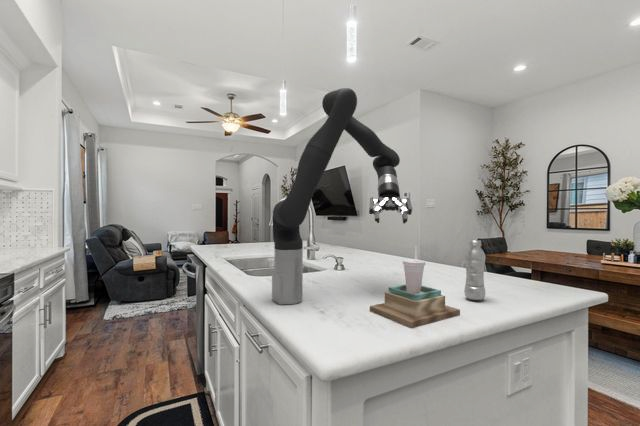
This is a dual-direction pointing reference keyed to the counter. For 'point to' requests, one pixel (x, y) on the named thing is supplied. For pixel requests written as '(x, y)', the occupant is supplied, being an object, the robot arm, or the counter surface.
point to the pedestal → (414, 306)
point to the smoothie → (413, 274)
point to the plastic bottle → (475, 271)
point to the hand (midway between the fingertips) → (391, 221)
